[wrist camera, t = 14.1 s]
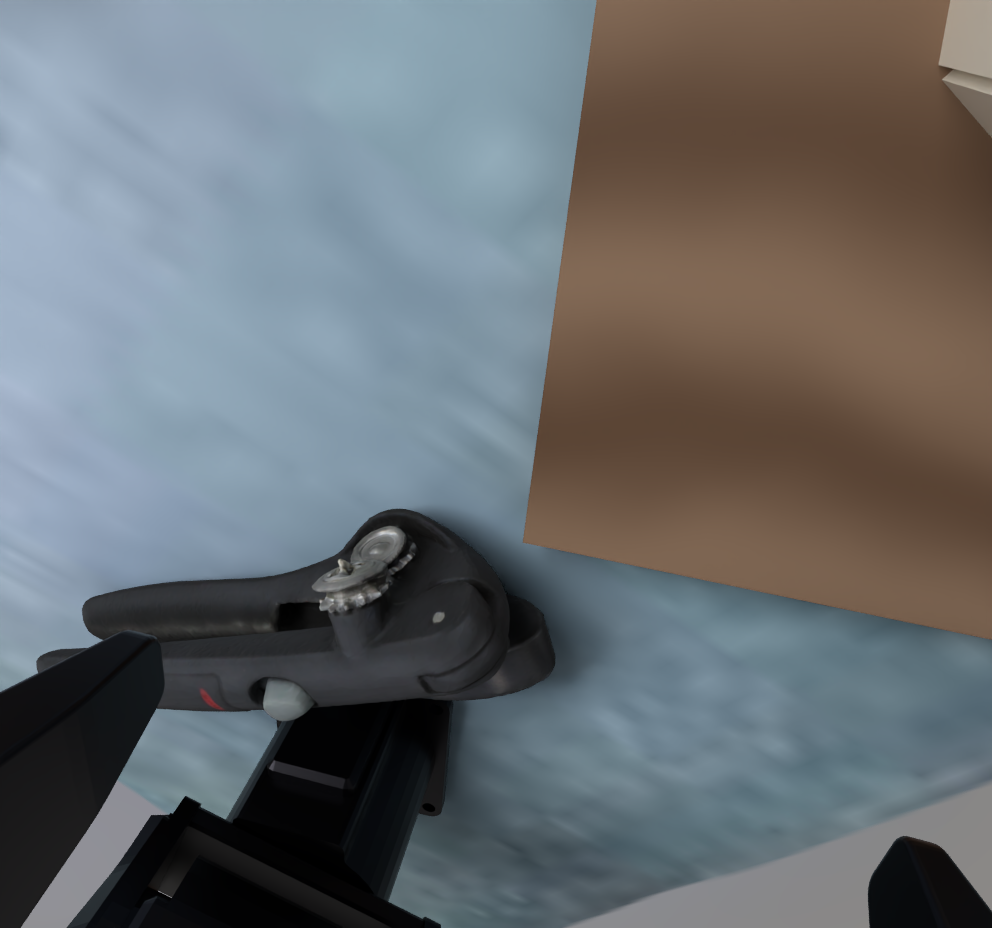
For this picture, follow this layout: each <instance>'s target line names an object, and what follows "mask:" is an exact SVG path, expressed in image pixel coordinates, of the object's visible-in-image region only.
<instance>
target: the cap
mask: <svg viewBox="0 0 992 928" xmlns="http://www.w3.org/2000/svg"><path fill="white" fill-rule="evenodd" d="M939 65H940V66H944V67H948V68H952V69H953V70H952V71H951V72H950V73H949V74H948V75H947V76H945V77H944V78H943V79H942V81H943V82H944V83H945V84H946V85H947V86H948V88H949V89H950V90H951V91H952V92H953V93H954V95H955V96H956V97H957V98H958V99H959V100H960V101H961V103H962V104H963V105H964V106H965V107H966V108H967V110H968V111H969V112H970V113H971V114H972V115H973V117H974V118H975V119H976V120H977V121H978V122H979V124H980V125H981V126H982V127H983V128H984V129H985V131H986V132H987V133H988V134H989V135H990V136H991V138H992V0H950V5H949V10H948V16H947V21H946V27H945V32H944V38H943V43H942V49H941V54H940V59H939Z"/></svg>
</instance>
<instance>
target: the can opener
mask: <svg viewBox="0 0 992 928" xmlns="http://www.w3.org/2000/svg"><path fill="white" fill-rule="evenodd" d="M82 614H83V621H84V623H85V626H86V627H87V629H88V631H89V632H90V633H91V634H93V635H94V636H96V637H98V638H100V639H102V640H105V639H107V638H109V637H111V636H113V635H115V634H117V633H119V632H122V631H126V630H132V631H137V632H140V633H144V634H148V635H152V636H154V637H156V638H157V639H158V640H159V642H160V645H161V652H162V660H163V669H164V678H165V687H164V692H163V695H162V698H161V700H160V702H159V704H158V706H157V709H172V710H192V711H229V712H236V711H250V710H265V711H266V713H267V714H268V715H270V716H271V717H272V718H274V719H276V720H279V721H290V720H294V719H296V718H298V717H300V716H302V715H304V714H305V713H306V712H307V711H308V710H309V709H310V708H314V707H330V706H341V705H354V704H364V703H377V702H387V701H399V700H405V699H414V698H426V699H433V700H456V701H459V700H476V699H486V698H492V697H496V696H503V695H506V694H512V693H515V692H518V691H521V690H524V689H526V688H529V687H531V686H533V685H535V684H536V683H538V682H540V681H542V680H544V679H545V678H547V677H548V676H549V675H550V673H551V672H552V671H553V668H554V666H555V653H554V650H553V646H552V643H551V640H550V636H549V633H548V629H547V626H546V623H545V620H544V614H543V613H542V612H541V611H540V610H539V609H537V608H536V607H535V606H534V605H533V604H531V603H530V602H528V601H527V600H525V599H521V598H518V597H516V596H512V595H508V594H505V591H504V588H503V586H502V583H501V581H500V580H499V578H498V576H497V574H496V573H495V572H494V570H493V569H492V568H491V567H490V565H489V564H488V563H487V562H486V560H485V559H484V558H482V557H481V556H480V555H479V554H478V553H477V552H476V551H475V550H474V549H473V548H472V547H470V546H469V545H468V544H467V543H465V542H464V541H463V540H462V539H461V538H459V537H458V536H457V535H456V534H454V533H453V532H451V531H450V530H449V529H448V528H446V527H444V526H442V525H440V524H438V523H437V522H435V521H434V520H432V519H430V518H428V517H426V516H424V515H422V514H420V513H418V512H415V511H411V510H406V509H391V510H386V511H383V512H380V513H378V514H376V515H375V516H373V517H371V518H369V519H368V521H367V522H365V523H364V524H363V526H362V527H360V528H359V530H358V531H357V532H356V534H355V535H354V536H353V537H352V539H351V540H350V541H349V542H348V543H347V544H346V546H345V547H344V549H342V550H341V551H340V552H339V553H338V554H336V555H335V556H333V557H330V558H328V559H326V560H323V561H321V562H318V563H316V564H313V565H310V566H308V567H304V568H301V569H299V570H295V571H292V572H287V573H284V574H280V575H275V576H267V577H261V578H245V579H223V580H200V581H178V582H169V583H160V584H152V585H146V586H139V587H134V588H129V589H123V590H119V591H114V592H110V593H106V594H103V595H98V596H95V597H92V598H90V599H89V600H87V601H86V602H85V604H84V605H83V608H82ZM85 649H87V648H79V649H60V650H55V651H51V652H48V653H46V654H43V655H42V656H40V657H39V658H38V660H37V670H38V673H39V672H41V671H43V670H45V669H47V668H49V667H51V666H53V665H55V664H57V663H59V662H61V661H63V660H65V659H67V658H69V657H71V656H73V655H75V654H77V653H79V652H81V651H83V650H85Z"/></svg>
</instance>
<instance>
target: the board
mask: <svg viewBox="0 0 992 928" xmlns="http://www.w3.org/2000/svg"><path fill="white" fill-rule="evenodd" d="M949 5H950V0H597V2H596V10H595V17H594V24H593V32H592V39H591V46H590V54H589V61H588V68H587V76H586V83H585V90H584V98H583V105H582V112H581V120H580V127H579V134H578V142H577V149H576V156H575V164H574V171H573V178H572V186H571V193H570V200H569V208H568V215H567V222H566V230H565V237H564V244H563V252H562V259H561V266H560V274H559V281H558V288H557V296H556V303H555V310H554V318H553V325H552V332H551V340H550V347H549V354H548V362H547V369H546V376H545V384H544V391H543V398H542V406H541V413H540V420H539V428H538V435H537V442H536V450H535V457H534V464H533V472H532V479H531V486H530V494H529V501H528V508H527V516H526V523H525V530H524V538H523V543H528V544H533V545H537V546H542V547H547V548H552V549H557V550H562V551H566V552H571V553H576V554H581V555H586V556H591V557H595V558H600V559H605V560H610V561H615V562H619V563H624V564H629V565H634V566H639V567H644V568H648V569H653V570H658V571H663V572H668V573H673V574H677V575H682V576H687V577H692V578H697V579H701V580H706V581H711V582H716V583H721V584H726V585H730V586H735V587H740V588H745V589H750V590H755V591H759V592H764V593H769V594H774V595H779V596H783V597H788V598H793V599H798V600H803V601H808V602H812V603H817V604H822V605H827V606H832V607H837V608H841V609H846V610H851V611H856V612H861V613H865V614H870V615H875V616H880V617H885V618H890V619H894V620H899V621H904V622H909V623H914V624H919V625H923V626H928V627H933V628H938V629H943V630H947V631H952V632H957V633H962V634H967V635H972V636H976V637H981V638H986V639H991V640H992V138H991V136H990V135H989V134H988V133H987V132H986V131H985V129H984V128H983V127H982V126H981V125H980V124H979V122H978V121H977V120H976V119H975V118H974V117H973V115H972V114H971V113H970V112H969V111H968V110H967V108H966V107H965V106H964V105H963V104H962V103H961V101H960V100H959V99H958V98H957V97H956V96H955V95H954V93H953V92H952V91H951V90H950V89H949V88H948V86H947V85H946V84H945V83H944V82H943V81H942V79H943V78H944V77H945V76H947V75H948V74H949V73H950V72H951V71H952V70H953V69H952V68H948V67H944V66H940V65H939V59H940V54H941V49H942V43H943V38H944V32H945V27H946V21H947V16H948V10H949Z"/></svg>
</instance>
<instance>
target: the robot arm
mask: <svg viewBox="0 0 992 928" xmlns="http://www.w3.org/2000/svg"><path fill="white" fill-rule="evenodd" d="M164 687H165V678H164V669H163V660H162V652H161V645H160V642H159V640H158V639H157V638H156V637H154V636H152V635H148V634H144V633H140V632H137V631H132V630H126V631H122V632H119V633H117V634H115V635H113V636H111V637H109V638H107V639H105V640H103V641H101V642H99V643H97V644H95V645H93V646H91V647H89V648H87V649H85V650H83V651H81V652H79V653H77V654H75V655H73V656H71V657H69V658H67V659H65V660H63V661H61V662H59V663H57V664H55V665H53V666H51V667H49V668H47V669H45V670H43V671H41V672H39V673H37V674H35V675H33V676H31V677H29V678H27V679H25V680H23V681H21V682H19V683H17V684H15V685H13V686H11V687H9V688H7V689H5V690H3V691H1V692H0V928H21V926H22V925H23V923H24V922H25V920H26V919H27V918H28V916H29V914H30V913H31V912H32V910H33V909H34V907H35V906H36V904H37V903H38V901H39V900H40V898H41V897H42V895H43V894H44V893H45V891H46V890H47V888H48V887H49V885H50V884H51V883H52V881H53V880H54V878H55V877H56V875H57V874H58V872H59V871H60V869H61V868H62V866H63V865H64V864H65V862H66V861H67V859H68V858H69V856H70V855H71V853H72V852H73V850H74V849H75V847H76V846H77V845H78V843H79V841H80V840H81V839H82V837H83V836H84V834H85V833H86V831H87V830H88V828H89V827H90V825H91V824H92V822H93V821H94V819H95V818H96V816H97V814H98V813H99V811H100V809H101V808H102V806H103V804H104V803H105V801H106V799H107V797H108V796H109V794H110V792H111V790H112V788H113V787H114V785H115V783H116V781H117V779H118V778H119V776H120V774H121V772H122V770H123V768H124V767H125V765H126V763H127V761H128V759H129V757H130V756H131V754H132V752H133V750H134V748H135V746H136V745H137V743H138V741H139V739H140V737H141V736H142V734H143V732H144V730H145V728H146V726H147V725H148V723H149V721H150V719H151V717H152V715H153V714H154V712H155V710H156V708H157V706H158V704H159V702H160V700H161V698H162V695H163V692H164ZM438 705H439V706H438ZM452 709H453V702H452V700H433V699H426V698H414V699H405V700H399V701H387V702H377V703H364V704H354V705H341V706H330V707H314V708H310V709H309V710H308V711H307V712H306V713H305V714H304V715H302V716H300V717H298V718H296V719H294V720H290V721H279V720H277V729H278V730H277V731H276V733H275V735H274V737H273V738H272V740H271V742H270V744H269V745H268V747H267V749H266V751H265V752H264V754H263V756H262V758H261V759H260V761H259V763H258V764H257V766H256V768H255V770H254V771H253V773H252V775H251V777H250V778H249V780H248V782H247V784H246V785H245V787H244V789H243V791H242V792H241V794H240V796H239V798H238V799H237V801H236V803H235V805H234V806H233V808H232V810H231V812H230V813H229V815H228V817H227V819H226V820H225V819H223V818H221V817H219V816H217V815H215V814H213V813H211V812H209V811H207V810H205V809H203V808H201V807H200V806H201V803H199V802H197V801H195V800H193V799H191V798H189V797H187V796H185V797H184V798H183V800H182V801H181V803H180V804H179V806H178V807H177V809H176V810H175V811H174V813H173V814H172V813H170V814H169V815H151V816H150V818H149V820H148V821H147V822H146V824H145V825H144V827H143V829H142V830H141V831H140V833H139V835H138V836H137V838H136V839H135V840H134V842H133V843H132V845H131V846H130V848H129V849H128V851H127V852H126V854H125V855H124V857H123V858H122V860H121V861H120V862H119V864H118V865H117V866H116V868H115V869H114V870H113V872H112V873H111V874H110V875H109V877H108V878H107V879H106V880H105V881H104V883H103V884H102V885H101V886H100V888H99V889H98V890H97V891H96V892H95V894H94V895H93V896H92V897H91V899H90V900H89V901H88V902H87V904H86V905H85V906H84V907H83V908H82V909H81V911H80V912H79V913H78V914H77V916H76V917H75V918H74V919H73V920H72V922H71V923H70V924H69V925H68V927H67V928H441V925H440V924H439V923H437V922H435V921H433V920H431V919H429V918H427V917H424V918H423V919H421V918H419V917H417V916H415V915H413V914H411V913H410V912H408V911H406V910H404V909H402V908H400V907H398V906H396V905H394V904H392V903H390V902H388V901H389V898H390V895H391V892H392V889H393V886H394V883H395V880H396V878H397V875H398V872H399V869H400V866H401V863H402V860H403V857H404V854H405V851H406V848H407V845H408V842H409V839H410V836H411V833H412V830H413V828H414V825H415V822H416V819H417V816H418V813H420V814H424V815H428V816H437V815H439V814H440V813H441V811H442V808H443V804H444V800H445V789H446V777H447V766H448V755H449V743H450V732H451V721H452ZM158 891H161V892H162V893H164V894H166V895H168V896H170V897H172V898H170V897H168V896H166V895H164V894H162V893H160V892H158ZM868 906H869V907H868V908H869V924H870V928H992V911H991V910H990V909H989V907H988V906H987V904H986V903H985V902H984V901H983V899H982V898H981V897H980V895H979V894H978V893H977V891H976V890H975V889H974V888H973V886H972V885H971V884H970V882H969V881H968V880H967V879H966V877H965V876H964V875H963V873H962V872H961V871H960V869H959V868H958V867H957V866H956V864H955V863H954V862H953V860H952V859H951V858H950V857H949V855H948V854H947V853H946V852H945V851H944V850H943V849H942V848H941V847H940V846H938V845H936V844H934V843H930V842H927V841H923V840H920V839H916V838H912V837H908V836H902V837H900V838H898V839H896V841H895V842H894V843H893V844H892V846H891V847H890V849H889V850H888V852H887V853H886V855H885V856H884V858H883V859H882V861H881V862H880V864H879V865H878V867H877V869H876V870H875V871H874V873H873V875H872V877H871V879H870V882H869V887H868Z"/></svg>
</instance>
